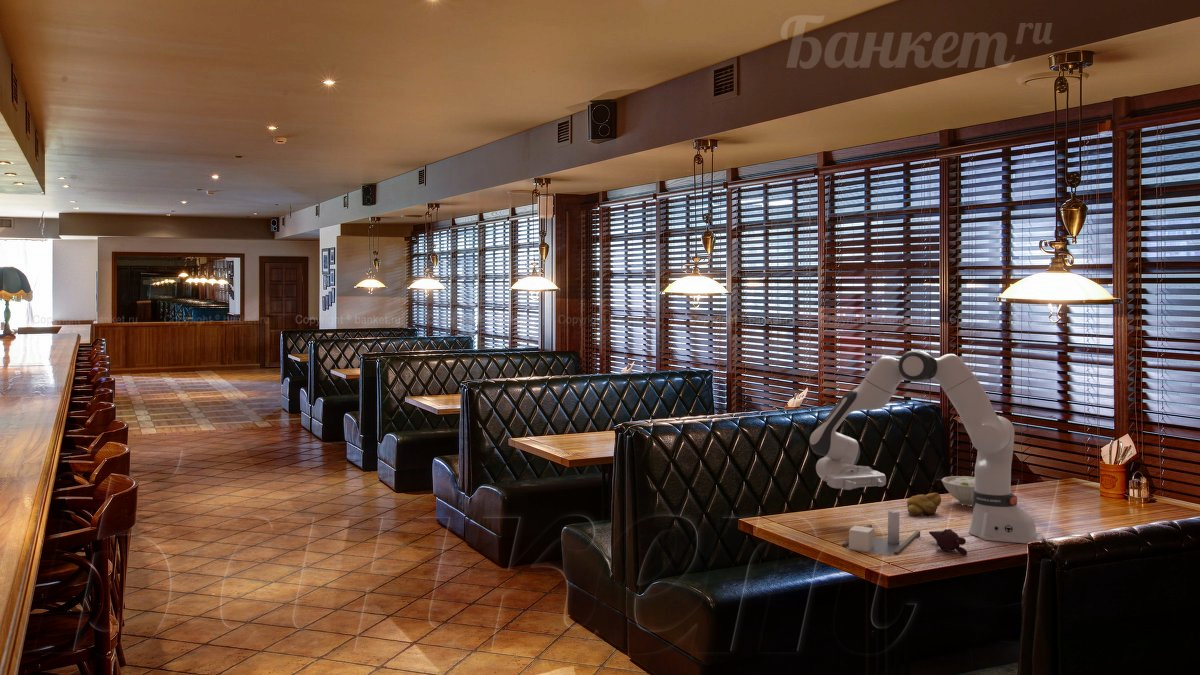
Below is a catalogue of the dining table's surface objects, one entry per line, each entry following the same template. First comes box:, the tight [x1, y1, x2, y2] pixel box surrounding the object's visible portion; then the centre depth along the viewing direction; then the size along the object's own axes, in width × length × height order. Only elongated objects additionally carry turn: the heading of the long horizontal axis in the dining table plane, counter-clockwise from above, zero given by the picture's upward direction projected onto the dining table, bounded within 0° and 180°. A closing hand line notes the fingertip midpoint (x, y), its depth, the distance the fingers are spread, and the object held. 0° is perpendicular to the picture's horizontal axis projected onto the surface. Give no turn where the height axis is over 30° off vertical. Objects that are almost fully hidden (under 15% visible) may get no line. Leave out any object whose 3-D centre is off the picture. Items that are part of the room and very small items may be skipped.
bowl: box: [941, 475, 975, 505], centre depth 343 cm, size 19×19×10 cm
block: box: [848, 525, 875, 553], centre depth 283 cm, size 6×6×6 cm
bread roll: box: [906, 492, 942, 516], centre depth 330 cm, size 13×10×8 cm
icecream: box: [928, 528, 968, 556], centre depth 284 cm, size 7×7×15 cm
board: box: [845, 510, 905, 557], centre depth 285 cm, size 14×18×11 cm
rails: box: [841, 523, 921, 556], centre depth 292 cm, size 17×28×2 cm, turn 147°
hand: (868, 485), depth 302 cm, fingers open, 8 cm apart
